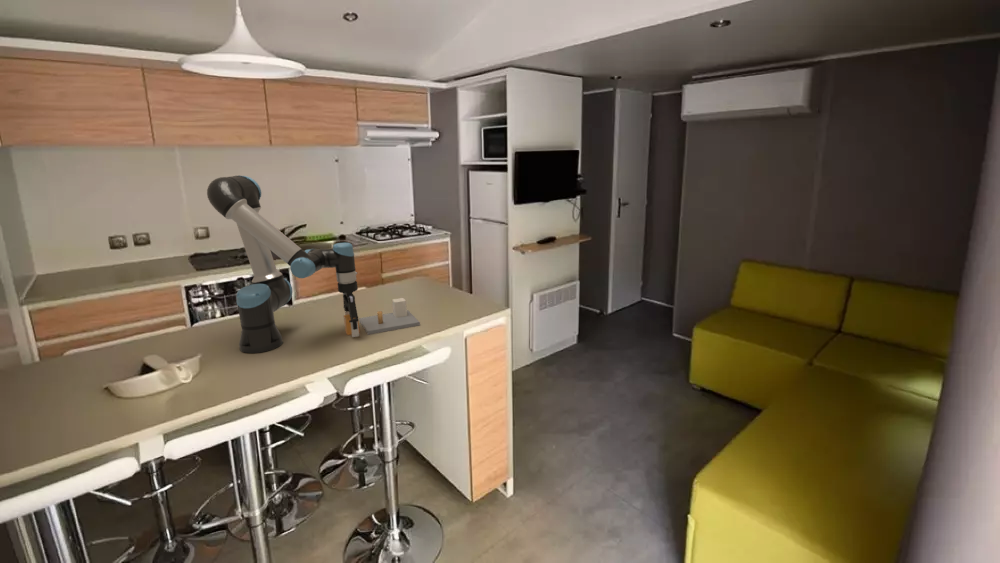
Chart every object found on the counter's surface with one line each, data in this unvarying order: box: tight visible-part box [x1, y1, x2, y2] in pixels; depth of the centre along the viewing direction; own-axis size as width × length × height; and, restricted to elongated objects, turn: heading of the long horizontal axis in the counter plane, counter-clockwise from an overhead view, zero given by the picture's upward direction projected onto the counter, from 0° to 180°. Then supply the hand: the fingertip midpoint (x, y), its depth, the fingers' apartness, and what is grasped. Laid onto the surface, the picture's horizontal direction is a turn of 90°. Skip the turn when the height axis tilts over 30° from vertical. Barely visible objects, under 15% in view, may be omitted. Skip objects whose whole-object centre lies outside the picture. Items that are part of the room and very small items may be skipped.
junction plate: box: [358, 297, 421, 335], centre depth 208 cm, size 22×18×8 cm
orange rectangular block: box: [343, 314, 361, 336], centre depth 199 cm, size 5×5×7 cm
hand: (352, 331), depth 200 cm, fingers open, 13 cm apart
